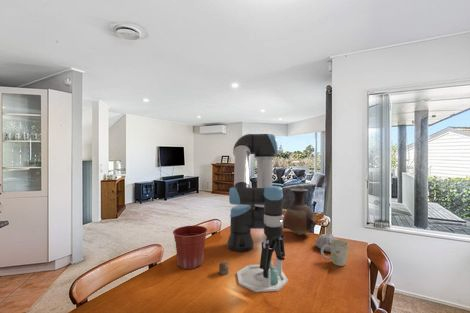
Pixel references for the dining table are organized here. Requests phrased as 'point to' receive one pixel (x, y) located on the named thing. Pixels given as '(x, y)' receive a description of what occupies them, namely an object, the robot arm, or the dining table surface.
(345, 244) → the mug
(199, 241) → the flower pot
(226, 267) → the walnut bead
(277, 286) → the groove tray
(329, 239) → the sea urchin shell
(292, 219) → the vase
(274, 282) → the teal bead
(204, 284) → the dining table surface
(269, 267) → the beige wooden cylinder
